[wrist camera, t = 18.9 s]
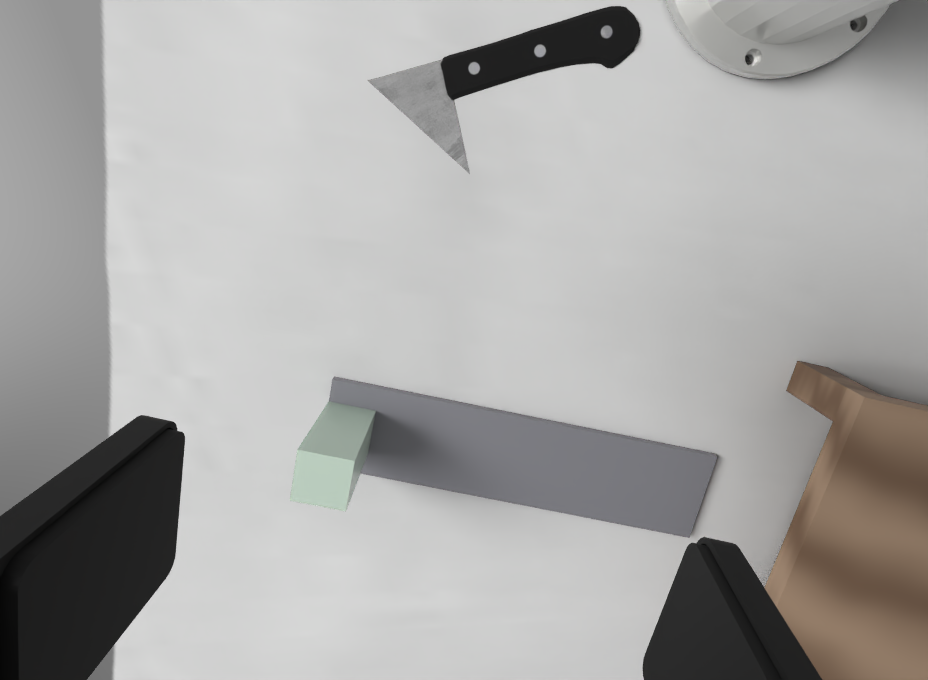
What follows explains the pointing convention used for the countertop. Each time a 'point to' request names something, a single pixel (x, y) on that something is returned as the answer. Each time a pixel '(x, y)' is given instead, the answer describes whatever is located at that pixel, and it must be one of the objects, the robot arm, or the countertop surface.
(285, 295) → the countertop surface
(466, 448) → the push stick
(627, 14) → the cleaver
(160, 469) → the robot arm
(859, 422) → the walnut bench
